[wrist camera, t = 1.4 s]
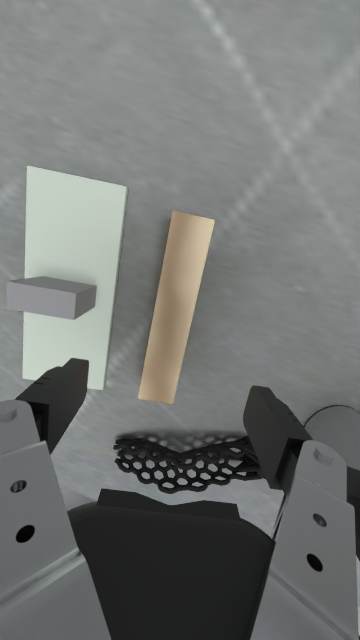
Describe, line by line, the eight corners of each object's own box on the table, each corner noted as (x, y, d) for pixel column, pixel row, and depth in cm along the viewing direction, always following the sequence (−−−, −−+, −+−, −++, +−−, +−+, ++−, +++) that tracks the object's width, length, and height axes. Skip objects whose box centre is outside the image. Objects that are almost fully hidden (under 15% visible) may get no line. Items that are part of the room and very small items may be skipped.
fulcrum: (128, 189, 25) (111, 164, 19) (104, 386, 31) (85, 421, 25) (32, 169, 25) (-21, 135, 18) (27, 374, 31) (-15, 407, 24)
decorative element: (118, 458, 35) (107, 497, 29) (116, 429, 33) (105, 464, 28) (268, 458, 36) (286, 497, 30) (273, 430, 34) (293, 465, 29)
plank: (207, 226, 27) (214, 220, 22) (172, 382, 32) (172, 404, 27) (172, 218, 27) (172, 210, 22) (143, 376, 31) (137, 398, 27)
